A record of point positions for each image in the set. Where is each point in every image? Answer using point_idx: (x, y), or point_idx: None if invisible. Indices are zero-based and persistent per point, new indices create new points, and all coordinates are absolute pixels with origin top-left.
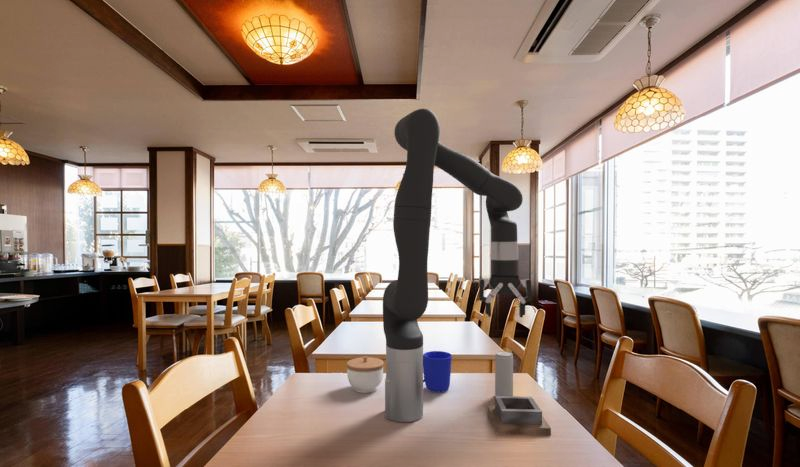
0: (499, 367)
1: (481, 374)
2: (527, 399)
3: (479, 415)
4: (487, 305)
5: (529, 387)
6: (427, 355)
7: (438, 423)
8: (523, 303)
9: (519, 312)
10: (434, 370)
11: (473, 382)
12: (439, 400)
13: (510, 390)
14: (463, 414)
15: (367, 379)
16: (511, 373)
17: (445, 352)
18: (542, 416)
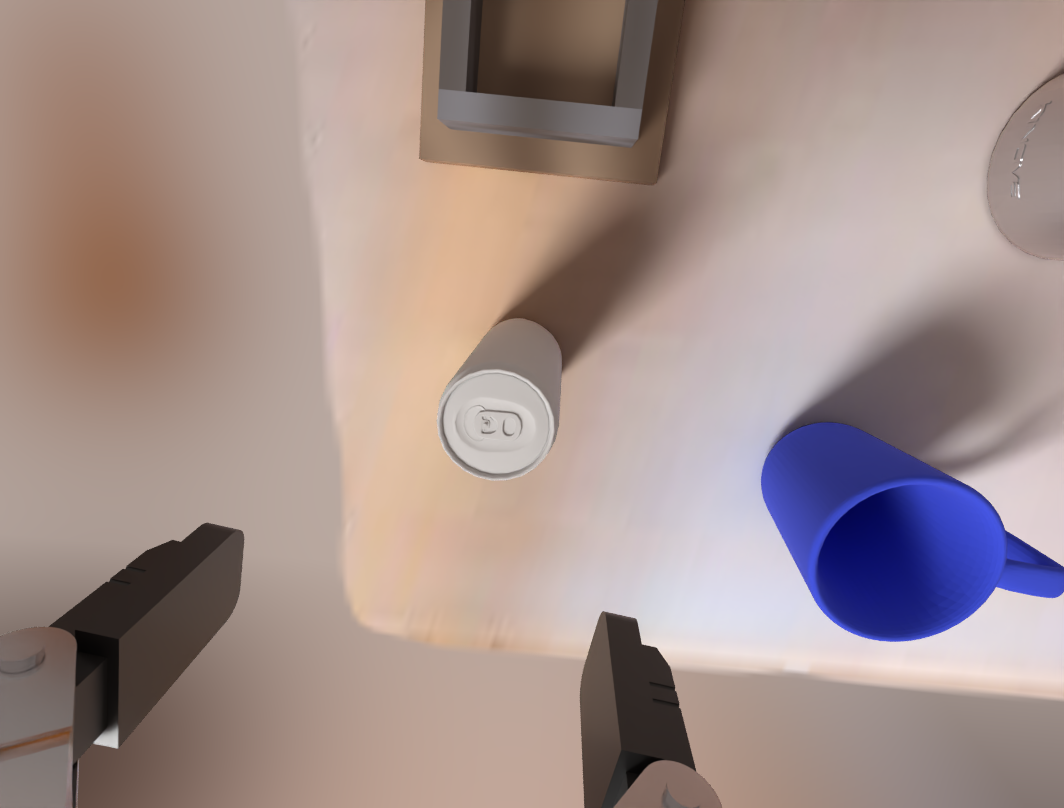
0: (545, 365)
1: (544, 633)
2: (468, 94)
3: (707, 140)
4: (663, 744)
5: (366, 463)
6: (949, 599)
7: (942, 50)
8: (49, 631)
9: (211, 616)
10: (913, 457)
11: (612, 541)
12: (847, 335)
13: (495, 328)
14: (782, 156)
15: None
16: (475, 350)
17: (832, 611)
18: (426, 24)
